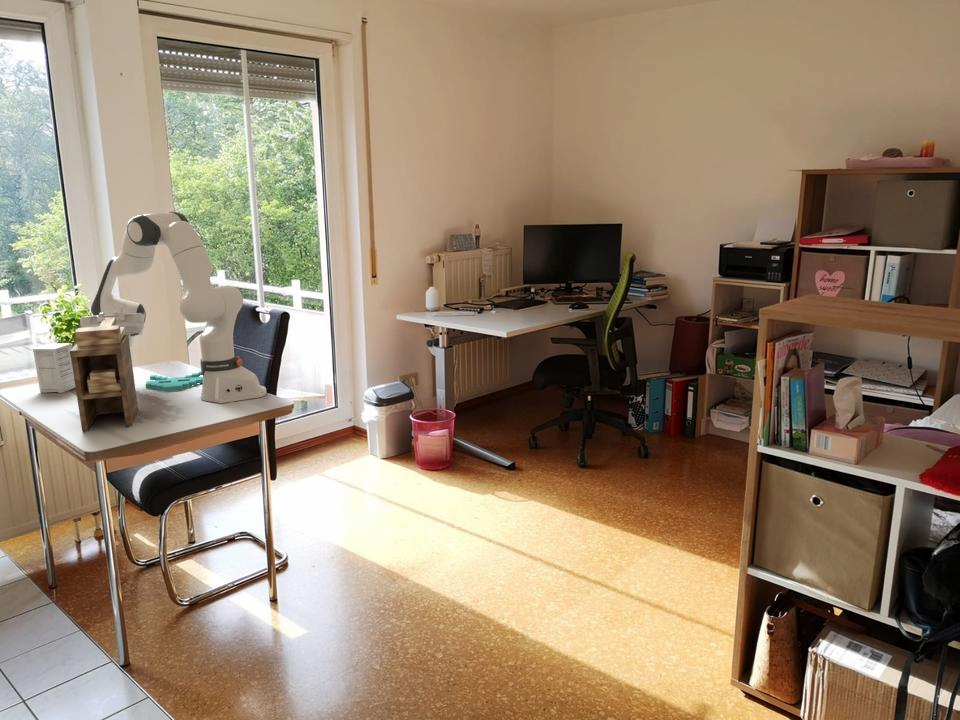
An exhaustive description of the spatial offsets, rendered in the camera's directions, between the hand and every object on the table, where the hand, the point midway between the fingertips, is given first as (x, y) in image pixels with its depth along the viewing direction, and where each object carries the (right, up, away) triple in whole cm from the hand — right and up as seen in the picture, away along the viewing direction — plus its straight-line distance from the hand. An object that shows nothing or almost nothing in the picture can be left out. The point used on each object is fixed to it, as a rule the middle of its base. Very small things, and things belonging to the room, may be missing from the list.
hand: (108, 314), depth 255 cm
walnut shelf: (+8, -35, -14) cm, 39 cm away
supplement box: (-30, -27, +23) cm, 47 cm away
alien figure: (+11, -26, +28) cm, 40 cm away
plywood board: (+4, -7, -11) cm, 13 cm away
